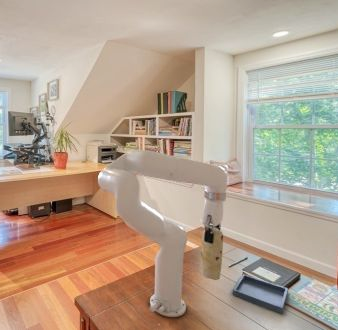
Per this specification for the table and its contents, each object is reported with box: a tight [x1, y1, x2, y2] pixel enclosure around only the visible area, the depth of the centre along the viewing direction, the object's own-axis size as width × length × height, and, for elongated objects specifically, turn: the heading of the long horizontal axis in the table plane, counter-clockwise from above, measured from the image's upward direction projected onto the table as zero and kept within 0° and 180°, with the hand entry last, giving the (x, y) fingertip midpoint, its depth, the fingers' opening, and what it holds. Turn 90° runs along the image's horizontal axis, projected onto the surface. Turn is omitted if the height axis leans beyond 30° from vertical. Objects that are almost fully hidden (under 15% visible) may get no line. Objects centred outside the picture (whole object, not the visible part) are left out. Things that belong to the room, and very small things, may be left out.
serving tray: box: [232, 273, 289, 315], centre depth 100 cm, size 16×16×2 cm
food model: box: [200, 227, 224, 281], centre depth 101 cm, size 10×7×20 cm
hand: (212, 239), depth 100 cm, fingers closed on food model, 7 cm apart
